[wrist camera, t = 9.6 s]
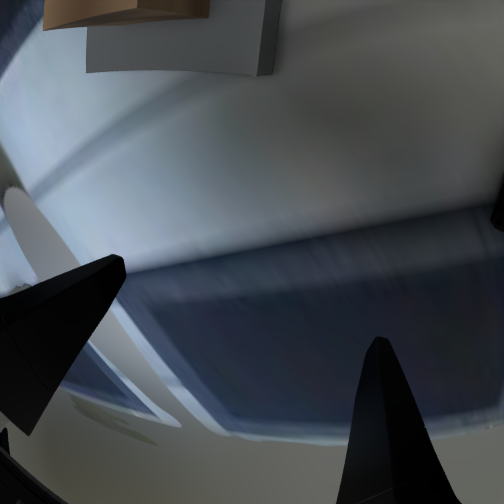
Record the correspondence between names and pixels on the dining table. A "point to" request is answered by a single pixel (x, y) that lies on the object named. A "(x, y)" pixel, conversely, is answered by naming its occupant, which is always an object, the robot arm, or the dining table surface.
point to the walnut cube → (119, 12)
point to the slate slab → (192, 41)
